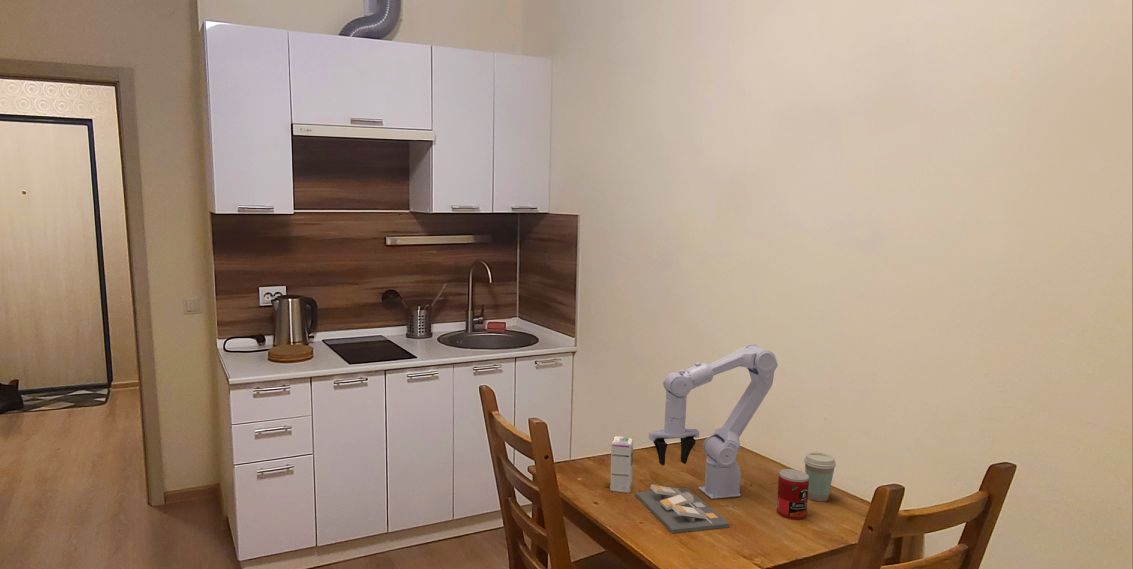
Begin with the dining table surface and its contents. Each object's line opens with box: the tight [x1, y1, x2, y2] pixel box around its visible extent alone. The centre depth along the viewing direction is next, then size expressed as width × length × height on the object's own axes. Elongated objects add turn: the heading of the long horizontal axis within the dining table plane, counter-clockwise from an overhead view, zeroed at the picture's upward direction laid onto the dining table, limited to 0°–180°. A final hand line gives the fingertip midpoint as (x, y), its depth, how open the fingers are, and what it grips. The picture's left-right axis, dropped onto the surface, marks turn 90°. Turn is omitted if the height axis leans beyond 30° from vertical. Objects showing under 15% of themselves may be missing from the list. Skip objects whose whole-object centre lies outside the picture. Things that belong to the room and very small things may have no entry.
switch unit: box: [634, 487, 731, 534], centre depth 194 cm, size 16×24×2 cm, turn 17°
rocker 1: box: [649, 483, 682, 496], centre depth 200 cm, size 8×4×1 cm, turn 107°
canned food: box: [776, 468, 809, 520], centre depth 194 cm, size 8×8×11 cm
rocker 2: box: [660, 492, 694, 510], centre depth 193 cm, size 8×4×1 cm, turn 107°
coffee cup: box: [803, 452, 837, 502], centre depth 206 cm, size 8×8×12 cm
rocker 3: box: [672, 505, 707, 519], centre depth 187 cm, size 8×4×1 cm, turn 107°
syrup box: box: [609, 435, 634, 494], centre depth 207 cm, size 6×6×14 cm
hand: (672, 463), depth 203 cm, fingers open, 6 cm apart
